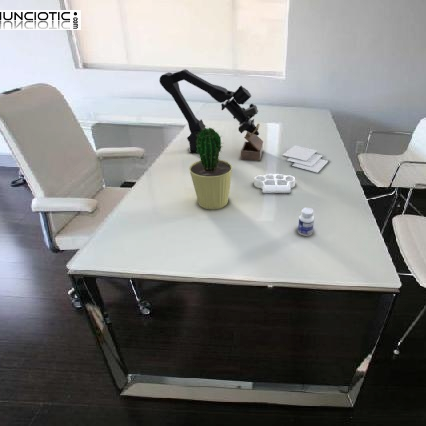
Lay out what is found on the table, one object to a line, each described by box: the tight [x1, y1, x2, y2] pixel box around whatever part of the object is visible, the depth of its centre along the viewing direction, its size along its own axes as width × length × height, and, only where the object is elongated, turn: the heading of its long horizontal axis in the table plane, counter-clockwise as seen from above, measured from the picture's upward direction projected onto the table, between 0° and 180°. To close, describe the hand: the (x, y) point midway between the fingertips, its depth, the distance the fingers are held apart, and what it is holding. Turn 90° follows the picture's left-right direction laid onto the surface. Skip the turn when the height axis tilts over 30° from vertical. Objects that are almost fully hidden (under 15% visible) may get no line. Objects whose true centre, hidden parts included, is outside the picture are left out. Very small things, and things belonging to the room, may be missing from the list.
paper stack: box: [282, 145, 329, 173], centre depth 165 cm, size 23×25×1 cm
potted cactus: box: [188, 125, 233, 210], centre depth 115 cm, size 15×15×30 cm
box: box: [240, 141, 264, 162], centre depth 164 cm, size 10×14×5 cm
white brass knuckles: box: [253, 173, 296, 194], centre depth 137 cm, size 3×18×15 cm
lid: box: [244, 123, 264, 152], centre depth 159 cm, size 10×14×7 cm
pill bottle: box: [297, 207, 315, 237], centre depth 109 cm, size 5×5×9 cm
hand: (258, 134), depth 159 cm, fingers closed, pressing on lid
